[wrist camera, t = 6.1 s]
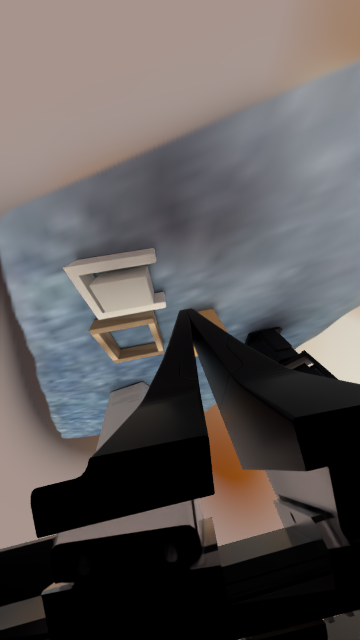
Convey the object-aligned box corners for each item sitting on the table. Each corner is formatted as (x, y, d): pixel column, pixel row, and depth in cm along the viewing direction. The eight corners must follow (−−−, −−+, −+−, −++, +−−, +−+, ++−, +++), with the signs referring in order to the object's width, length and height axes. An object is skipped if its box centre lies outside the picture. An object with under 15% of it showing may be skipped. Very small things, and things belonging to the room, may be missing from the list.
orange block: (211, 327, 22) (223, 350, 18) (185, 332, 22) (192, 357, 18) (212, 308, 19) (227, 331, 15) (183, 313, 19) (191, 338, 15)
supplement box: (109, 391, 30) (81, 498, 19) (142, 380, 29) (135, 484, 18) (130, 402, 36) (119, 488, 25) (159, 393, 35) (161, 478, 24)
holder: (163, 344, 23) (164, 353, 21) (118, 353, 22) (115, 363, 21) (153, 309, 18) (153, 318, 16) (94, 320, 17) (88, 330, 16)
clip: (164, 297, 17) (166, 307, 15) (105, 307, 16) (98, 319, 14) (154, 247, 13) (154, 253, 11) (76, 260, 13) (62, 267, 11)
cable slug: (153, 289, 16) (153, 304, 13) (114, 296, 16) (105, 312, 13) (147, 264, 14) (145, 276, 11) (101, 272, 14) (88, 285, 11)
